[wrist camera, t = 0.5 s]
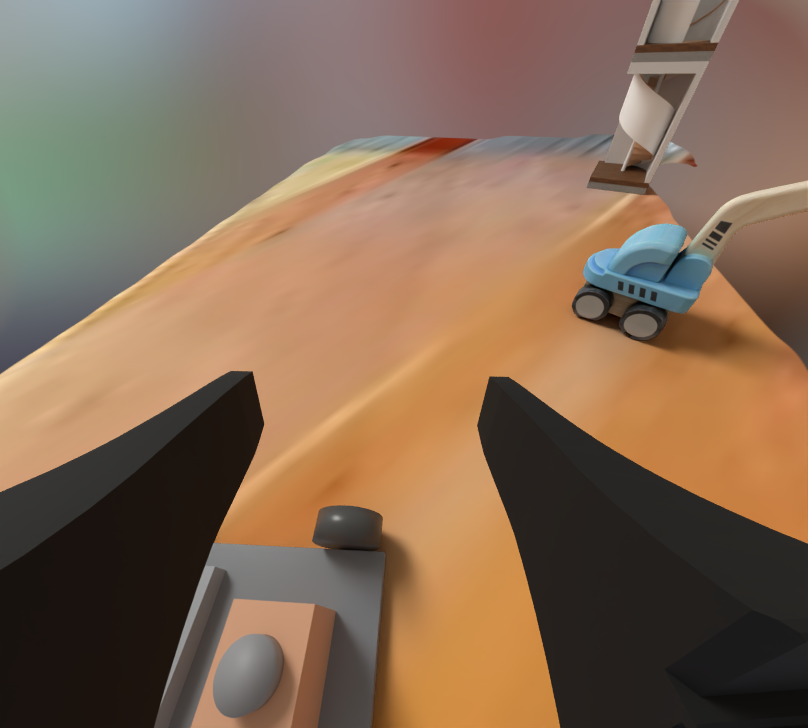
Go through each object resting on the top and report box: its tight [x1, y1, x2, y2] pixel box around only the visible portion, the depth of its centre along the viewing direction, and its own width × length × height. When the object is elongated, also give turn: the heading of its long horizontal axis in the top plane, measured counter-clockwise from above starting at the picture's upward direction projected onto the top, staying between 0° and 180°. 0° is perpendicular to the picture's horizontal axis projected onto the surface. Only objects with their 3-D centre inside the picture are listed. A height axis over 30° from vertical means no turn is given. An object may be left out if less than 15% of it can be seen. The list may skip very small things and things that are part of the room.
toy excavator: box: [572, 181, 808, 340], centre depth 31 cm, size 9×17×17 cm, turn 50°
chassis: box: [154, 506, 386, 728], centre depth 18 cm, size 16×20×5 cm
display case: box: [587, 0, 739, 195], centre depth 54 cm, size 11×11×35 cm
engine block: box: [191, 599, 336, 728], centre depth 16 cm, size 5×4×6 cm
